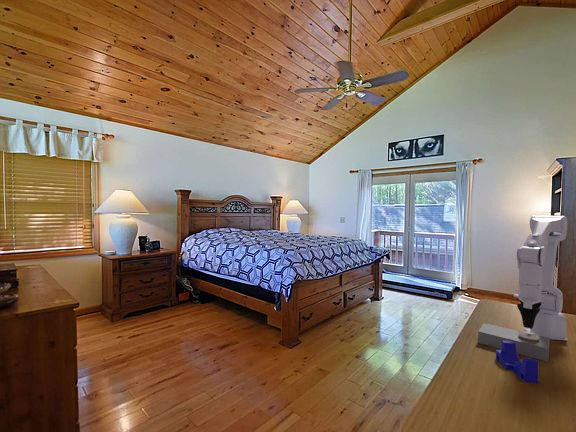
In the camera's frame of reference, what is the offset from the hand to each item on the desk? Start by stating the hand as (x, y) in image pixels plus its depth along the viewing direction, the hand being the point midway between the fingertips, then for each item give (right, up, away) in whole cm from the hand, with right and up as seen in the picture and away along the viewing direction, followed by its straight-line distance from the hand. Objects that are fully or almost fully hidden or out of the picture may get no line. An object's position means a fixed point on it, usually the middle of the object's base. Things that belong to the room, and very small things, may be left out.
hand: (528, 325), depth 95 cm
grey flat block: (-3, -8, +3) cm, 9 cm away
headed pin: (0, -8, 0) cm, 8 cm away
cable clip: (-13, -9, -11) cm, 20 cm away
